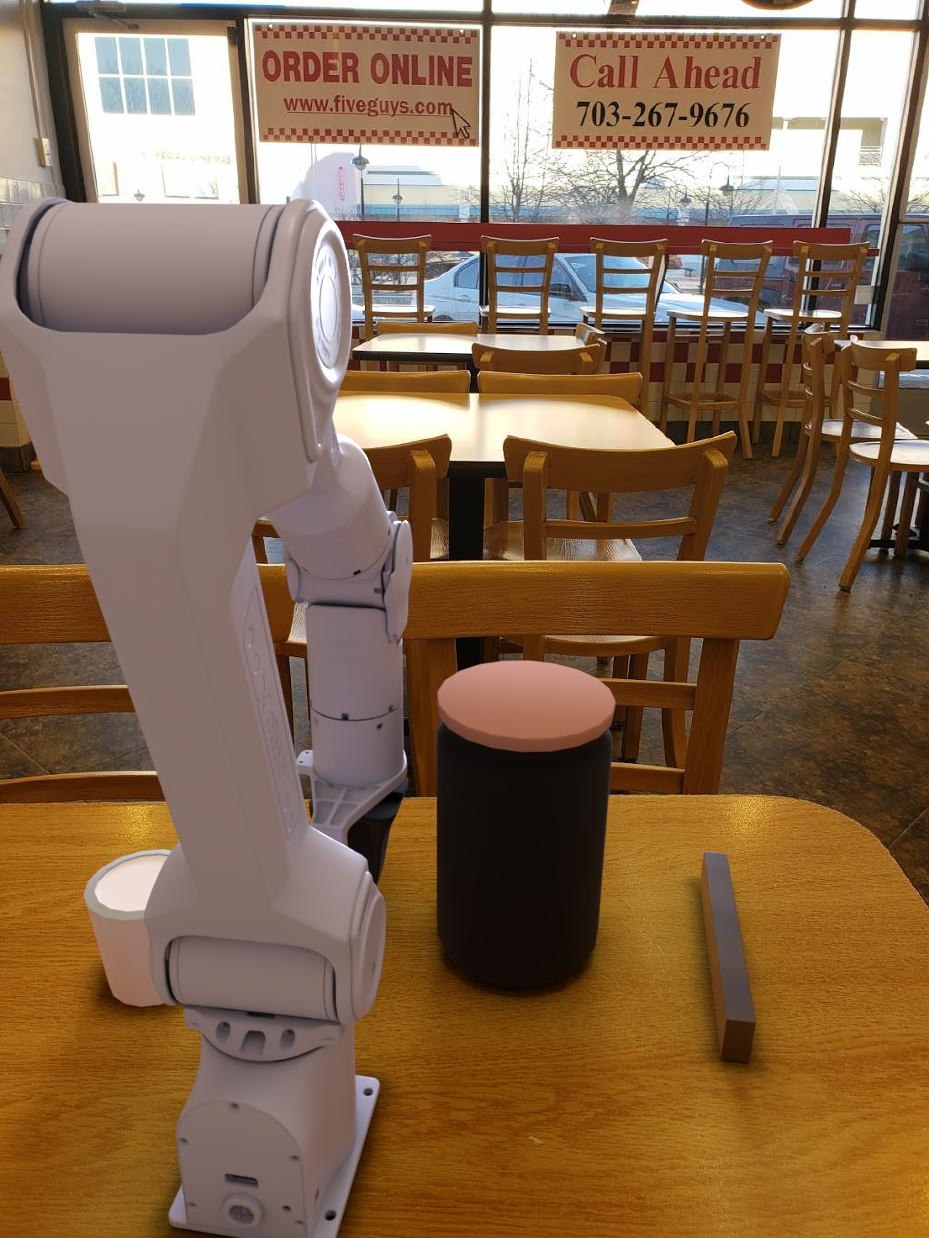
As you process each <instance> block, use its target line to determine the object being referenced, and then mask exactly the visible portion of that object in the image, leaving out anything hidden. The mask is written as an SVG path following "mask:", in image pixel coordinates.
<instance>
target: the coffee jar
mask: <svg viewBox="0 0 929 1238" xmlns="http://www.w3.org/2000/svg"><path fill="white" fill-rule="evenodd" d="M436 698H437V709H438V717H439V718H440V720H441V721H440V722H439V724H438V726H437V729H436V930H437V931H436V935H437V938H438V940H439V941H440V943H441V944H442V947H443V948H444V951H445V952H446V954H447V956H448V958H449V959H451V960H452V961H453V963H454V964H455V965H456V966H458V968H459V969H461V970H462V971H463V972H464V973H465V974H466V975H467V976H469V978H472V979H474V980H476V981H479V982H480V983H483V984H484V985H487V986H489V987H492V988H498V989H503V990H508V991H509V990H510V991H536V990H539V989H543V988H547V987H551V986H554V985H557V984H559V983H561V982H562V981H564V980H566V979H567V978H569V977H570V976H572V975H573V974H575V972H576V971H577V970H578V969H580V968H581V967H582V966H583V964H585V962H586V961H587V959H588V958H589V957H590V955H591V954H592V953H593V951H594V950H595V948H596V945H597V939H598V934H599V925H600V914H601V913H600V912H601V901H602V888H603V873H604V863H605V852H606V851H605V849H606V848H605V847H606V837H607V824H608V810H609V797H610V784H611V773H612V771H611V770H612V762H613V761H612V759H613V747H614V740H613V735H612V733H611V731H610V727H611V726H612V723H613V719H614V714H615V709H616V703H617V702H616V699H615V698H614V695H613V693H612V691H611V689H610V688H609V687H608V686H607V685H606V684H604V683H603V682H602V681H601V680H599V678H597V677H595V676H593V675H591V674H588V673H586V672H584V671H582V670H579V669H577V668H573V667H569V666H565V665H561V664H558V663H553V662H545V661H537V660H536V661H535V660H500V661H493V662H488V663H480V664H477V665H473V666H471V667H468V668H465V669H462V670H459V671H457V672H456V673H454V674H453V675H451V676H449V677H448V678H446V679H444V681H443V683H442V684H441V686H440V687H439V688H438V690H437V692H436Z"/></svg>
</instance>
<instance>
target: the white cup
mask: <svg viewBox="0 0 929 1238" xmlns="http://www.w3.org/2000/svg"><path fill="white" fill-rule="evenodd" d="M171 851H172V850H170V849H163V848H160V849H150V850H148V849H147V850H140V851H137V852H134V853H130V854H127V855H123V856H121V857H117V858H116V859H114V860H113V861H110V862H109V863H107V864H106V865H104V866H102V867H100V868H99V869H98V870H97V871H96V872H95V874H94V875H93V876H92V877H90V879H88V880H87V883H86V886H85V889H84V892H83V899H84V903H85V906H86V909H87V912H88V916H89V919H90V923H91V926H92V930H93V933H94V937H95V940H96V944H97V947H98V951H99V954H100V958H101V961H102V965H103V969H104V972H105V975H106V978H107V979H106V980H107V982H108V986H109V988H110V992H111V994H112V996H113V997H114V998H116V999H117V1000H118V1001H120V1002H121V1003H123V1004H124V1005H128V1006H129V1005H130V1006H134V1007H138V1008H139V1007H140V1008H143V1007H151V1006H152V1007H153V1006H160V1005H164V1003H163V1002H162V1001H161V1000H160V998H159V997H158V994H157V992H156V989H155V987H154V985H153V983H152V980H151V977H150V972H149V937H148V931H147V928H146V926H145V924H144V913H145V909H146V905H147V902H148V899H149V896H150V894H151V891H152V888H153V886H154V884H155V881H156V879H157V877H158V874H159V872H160V870H161V868H162V866H163V864H164V862H165V860H166V859H167V857H168V856H169V854H170V852H171Z"/></svg>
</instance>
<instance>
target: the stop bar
mask: <svg viewBox="0 0 929 1238" xmlns="http://www.w3.org/2000/svg"><path fill="white" fill-rule="evenodd" d="M701 863H702V864H701V872H700V879H699V880H700V881H699V892H700V901H701V910H702V916H703V926H704V935H705V942H706V950H707V958H708V959H707V960H708V965H709V966H708V968H709V974H710V982H711V990H712V998H713V999H712V1000H713V1007H714V1017H715V1025H716V1034H717V1040H718V1047H719V1048H718V1049H719V1058H720V1060H722V1061H728V1062H736V1063H744V1064H750V1062H751V1055H752V1049H753V1044H754V1037H755V1031H756V1025H757V1021H756V1015H755V1009H754V1003H753V997H752V992H751V987H750V986H751V985H750V980H749V974H748V969H747V963H746V962H747V961H746V956H745V952H744V946H743V939H742V934H741V928H740V924H739V923H740V922H739V917H738V911H737V905H736V898H735V893H734V887H733V881H732V875H731V870H730V864H729V858H728V854H727V853H725V852H724V853H723V852H716V851H715V852H714V851H703V857H702V862H701Z"/></svg>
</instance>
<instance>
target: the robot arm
mask: <svg viewBox="0 0 929 1238" xmlns="http://www.w3.org/2000/svg"><path fill="white" fill-rule="evenodd" d="M7 233H8V234H7V237H6V239H5V242H4V245H3V248H2V251H1V257H0V354H1V356H2V357H1V358H2V359H3V362H4V365H5V368H6V371H7V374H8V377H9V379H10V383H11V385H12V388H13V391H14V394H15V397H16V400H17V402H18V405H19V408H20V411H21V414H22V417H23V419H24V422H25V426H26V428H27V431H28V434H29V437H30V440H31V443H32V446H33V448H34V452H35V454H36V457H37V461H38V463H39V466H40V469H41V471H42V474H43V477H44V478H45V479H46V481H47V482H48V483H50V484H51V485H52V486H54V487H55V488H57V489H58V490H59V491H60V492H62V493H63V494H64V495H66V496H67V497H68V502H69V506H70V512H71V517H72V521H73V525H74V531H75V535H76V537H77V541H78V544H79V548H80V550H81V554H82V558H83V560H84V563H85V564H84V565H85V566H86V570H87V573H88V576H89V578H90V581H91V584H92V587H93V590H94V594H95V596H96V599H97V602H98V605H99V608H100V610H101V613H102V615H103V616H102V617H103V619H104V623H105V625H106V629H107V631H108V634H109V637H110V641H111V643H112V646H113V649H114V652H115V655H116V658H117V661H118V664H119V667H120V670H121V673H122V676H123V678H124V682H125V685H126V687H127V690H128V693H129V696H130V700H131V702H132V705H133V709H134V711H135V714H136V716H137V720H138V723H139V726H140V728H141V732H142V734H143V737H144V741H145V743H146V747H147V750H148V752H149V755H150V758H151V761H152V765H153V767H154V771H155V774H156V776H157V780H158V782H159V784H160V788H161V790H162V794H163V797H164V799H165V800H164V801H165V803H166V805H167V808H168V811H169V815H170V817H171V820H172V823H173V826H174V830H175V832H176V835H177V838H178V842H177V844H176V845H175V846H174V847H173V848H172V850H171V852H170V854H169V856H168V857H167V859H166V860H165V862H164V864H163V866H162V868H161V870H160V872H159V874H158V877H157V879H156V881H155V884H154V886H153V888H152V891H151V894H150V896H149V899H148V902H147V905H146V909H145V913H144V924H145V926H146V928H147V931H148V937H149V972H150V977H151V980H152V983H153V985H154V987H155V989H156V992H157V994H158V997H159V998H160V1000H161V1001H162V1002H163V1004H164V1005H167V1006H172V1007H180V1006H182V1009H183V1017H184V1018H183V1019H184V1026H185V1028H187V1029H189V1030H194V1031H197V1032H199V1033H200V1052H199V1063H198V1067H197V1072H196V1075H195V1078H194V1083H193V1086H192V1088H191V1090H190V1093H189V1095H188V1097H187V1100H186V1102H185V1104H184V1106H183V1108H182V1109H181V1112H180V1114H179V1117H178V1120H177V1123H176V1128H175V1145H176V1152H177V1160H178V1167H179V1175H180V1182H181V1185H180V1188H179V1189H178V1192H177V1193H176V1196H175V1198H174V1200H173V1202H172V1204H171V1206H170V1208H169V1211H168V1214H167V1215H168V1216H167V1217H168V1221H169V1222H168V1223H169V1224H170V1225H171V1226H172V1227H174V1228H177V1229H185V1230H190V1231H196V1232H202V1233H207V1234H212V1235H213V1234H215V1235H220V1236H225V1237H231V1238H338V1234H339V1230H340V1228H341V1224H342V1220H343V1217H344V1213H345V1210H346V1208H347V1207H346V1206H347V1204H348V1200H349V1196H350V1193H351V1189H352V1187H353V1184H354V1183H353V1182H354V1179H355V1176H356V1173H357V1169H358V1166H359V1162H360V1160H361V1155H362V1153H363V1149H364V1146H365V1141H366V1138H367V1136H368V1131H369V1128H370V1125H371V1121H372V1118H373V1114H374V1111H375V1107H376V1104H377V1101H378V1097H379V1094H380V1088H381V1084H380V1081H379V1080H378V1079H377V1078H376V1077H370V1076H364V1075H357V1074H356V1053H355V1050H356V1049H355V1027H354V1026H356V1025H357V1024H359V1023H360V1022H361V1020H362V1019H363V1018H365V1016H366V1015H367V1014H368V1013H369V1012H371V1010H372V1008H373V1005H374V1003H375V1000H376V997H377V994H378V990H379V985H380V981H381V976H382V972H383V971H382V970H383V964H384V958H385V948H386V937H387V907H386V901H385V899H384V896H383V895H382V893H381V892H380V890H379V889H378V887H377V886H378V883H379V880H380V879H381V875H382V872H383V869H384V864H385V860H386V854H387V849H388V843H389V838H390V833H391V829H392V825H393V823H394V821H395V819H396V817H397V814H398V812H399V811H400V808H401V805H402V801H403V799H405V795H406V792H407V791H408V788H409V779H408V777H407V774H408V762H407V761H408V760H407V755H406V752H405V749H404V747H405V746H404V745H405V744H404V743H405V742H404V675H403V674H404V670H403V669H404V668H403V667H404V665H403V664H404V663H403V661H404V660H403V658H404V657H403V633H404V631H405V629H406V626H407V625H408V616H409V593H410V592H409V591H410V586H411V580H412V575H413V574H412V573H413V565H414V564H413V563H414V560H413V559H414V545H413V536H412V529H411V525H410V523H409V521H408V520H403V521H401V520H399V519H398V516H397V514H396V512H395V511H393V510H388V509H387V507H386V504H385V502H384V499H383V496H382V493H381V491H380V488H379V485H378V482H377V480H376V478H375V475H374V472H373V469H372V466H371V464H370V461H369V458H368V457H367V455H366V453H365V451H363V449H362V448H361V447H360V446H359V444H357V443H356V442H354V440H352V439H351V438H348V437H347V436H345V435H344V434H341V433H337V430H336V427H335V422H334V418H333V416H334V411H335V408H336V404H337V400H338V396H339V393H340V392H339V391H340V387H341V384H342V383H343V381H344V378H345V376H346V373H347V369H348V364H349V359H350V355H351V354H350V353H351V347H352V346H351V345H352V335H353V334H352V333H353V293H352V280H351V272H350V265H349V259H348V253H347V250H346V245H345V241H344V239H343V236H342V234H341V231H340V229H339V228H338V225H337V224H336V223H335V222H334V220H333V219H331V218H330V216H329V215H328V213H327V211H326V210H325V209H324V207H323V206H322V205H321V204H320V203H319V202H318V201H317V200H314V199H312V198H295V199H293V200H291V201H289V202H286V203H279V204H276V203H275V204H274V203H272V204H271V203H265V204H263V203H262V204H261V203H161V202H160V203H155V202H154V203H153V202H152V203H151V202H148V203H147V202H145V203H144V202H139V203H138V202H75V201H72V200H69V199H66V198H63V197H61V196H43V197H38V198H35V199H32V200H31V201H28V203H26V204H25V205H24V206H22V208H21V209H20V210H19V212H18V213H17V214H16V216H15V218H14V220H13V222H12V224H11V226H10V228H9V231H8V232H7ZM263 517H266V518H267V520H268V521H269V523H270V524H271V526H272V528H273V529H274V530H275V533H276V534H277V535H278V537H279V538H280V540H281V542H282V543H283V545H282V551H281V552H282V553H281V556H282V558H283V559H282V562H283V565H285V569H286V580H287V586H288V591H289V595H290V598H291V600H292V601H294V602H295V603H297V604H303V603H304V602H306V603H307V605H306V606H305V607H304V618H305V635H306V654H307V655H306V657H307V673H308V693H309V712H310V713H309V714H310V734H311V749H305V750H303V751H301V752H300V753H299V755H298V756H297V757H296V753H295V748H294V743H293V737H292V733H291V729H290V723H289V718H288V714H287V712H288V711H287V709H286V704H285V703H286V702H285V698H284V692H283V688H282V683H281V678H280V672H279V668H278V663H277V658H276V653H275V652H276V651H275V649H274V643H273V638H272V633H271V629H270V624H269V623H270V622H269V619H268V618H269V617H268V613H267V609H266V604H265V603H266V602H265V598H264V593H263V589H262V583H261V578H260V573H259V569H258V564H257V558H256V552H255V548H254V545H253V544H254V543H253V539H252V534H253V531H254V528H255V525H256V523H257V521H259V520H260V519H262V518H263ZM300 775H305V776H308V777H309V778H310V786H311V787H310V788H311V798H310V800H309V802H308V811H309V812H308V811H307V808H306V803H305V798H304V797H305V796H304V793H303V787H302V783H301V777H300ZM307 813H309V817H310V821H309V817H308V814H307ZM367 1094H370V1095H367ZM329 1217H334V1218H333V1219H332V1220H328V1218H329Z"/></svg>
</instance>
